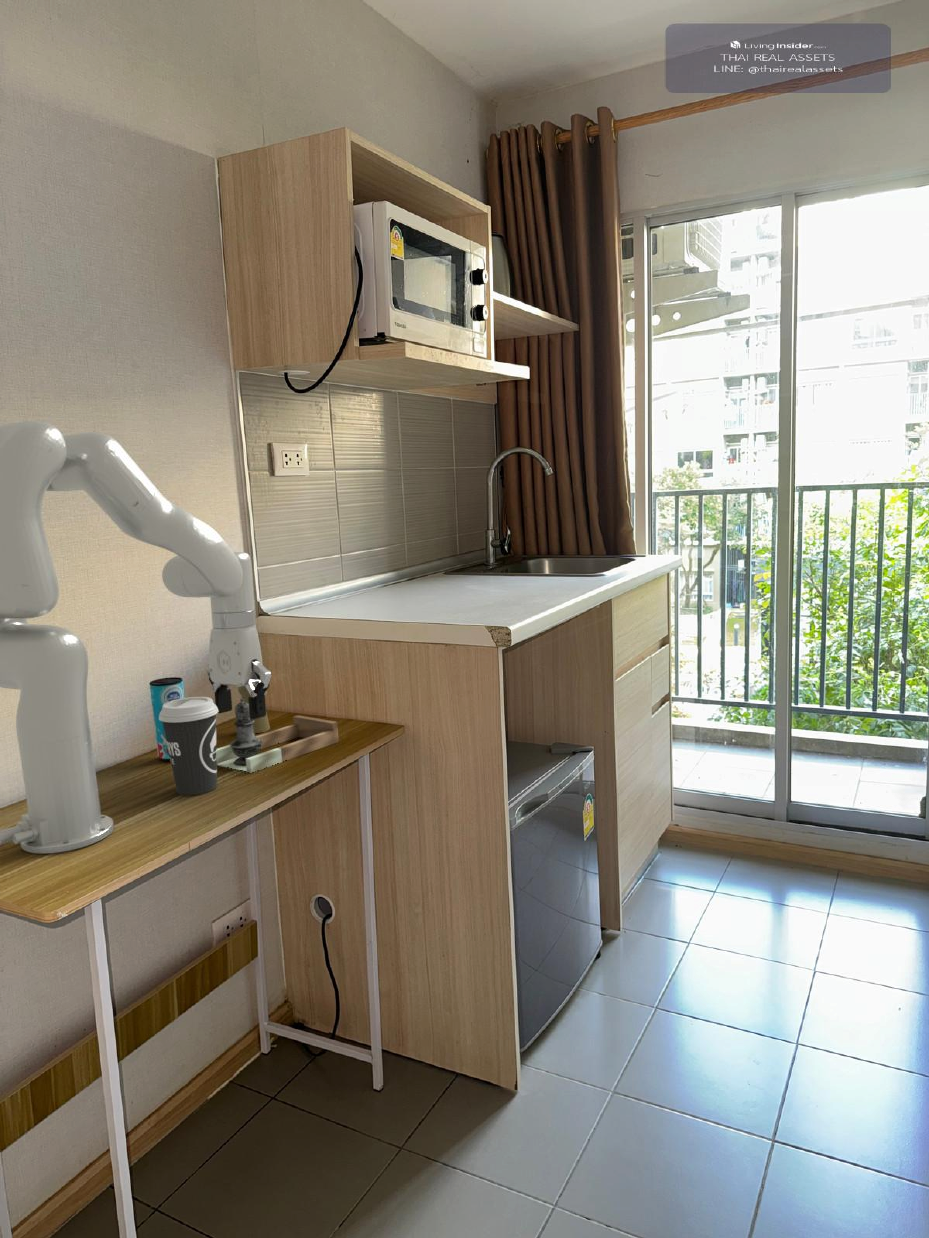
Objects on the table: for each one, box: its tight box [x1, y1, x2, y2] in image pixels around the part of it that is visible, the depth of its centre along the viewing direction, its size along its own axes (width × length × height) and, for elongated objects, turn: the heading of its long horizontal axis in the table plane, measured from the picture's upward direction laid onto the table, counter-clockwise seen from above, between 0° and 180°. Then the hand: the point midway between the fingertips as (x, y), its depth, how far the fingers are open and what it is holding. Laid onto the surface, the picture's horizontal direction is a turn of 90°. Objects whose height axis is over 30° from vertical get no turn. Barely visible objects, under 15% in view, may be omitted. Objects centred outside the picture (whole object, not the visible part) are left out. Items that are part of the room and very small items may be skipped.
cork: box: [237, 684, 271, 735], centre depth 182 cm, size 6×6×11 cm
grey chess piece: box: [229, 697, 263, 766], centre depth 160 cm, size 6×6×12 cm
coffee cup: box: [159, 696, 219, 797], centre depth 146 cm, size 10×10×15 cm
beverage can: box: [149, 676, 186, 762], centre depth 166 cm, size 6×6×15 cm
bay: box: [216, 714, 340, 774], centre depth 166 cm, size 21×11×4 cm, turn 142°
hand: (240, 714), depth 159 cm, fingers open, 9 cm apart
